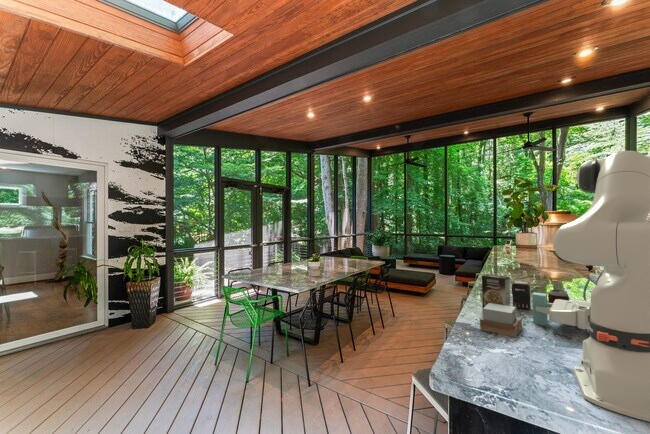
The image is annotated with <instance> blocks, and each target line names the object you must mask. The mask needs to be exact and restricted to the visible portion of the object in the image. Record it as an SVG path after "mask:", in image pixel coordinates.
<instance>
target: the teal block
mask: <svg viewBox="0 0 650 434" xmlns="http://www.w3.org/2000/svg"><path fill="white" fill-rule="evenodd" d="M531 299H532V322H533V324H534V325H541V326H547V325H548V323H549V322H548V321H549V319H548V317H549V315H548V314H545V313H543V312H538V311H536V306H542V307H545V308H547V303H548V294H547V293H542V292H532V293H531Z"/></svg>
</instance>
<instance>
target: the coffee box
mask: <svg viewBox="0 0 650 434" xmlns="http://www.w3.org/2000/svg"><path fill="white" fill-rule="evenodd" d="M481 296H482V297H481V299H482V301H481V302H482V303H481V304H482V309H483V308H484V307H485V306H486V305H487V304H488V303H492V304H499V305H506V306H511V276H506V275H498V274H489V273H486V274H483V275H481Z"/></svg>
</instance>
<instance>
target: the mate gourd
mask: <svg viewBox="0 0 650 434" xmlns="http://www.w3.org/2000/svg"><path fill="white" fill-rule="evenodd" d="M544 275H546V276H547V277H548V279H549V280H550V282H551V285H552V287H553V289H550V291H549V292H548V294H547V300H548V303H554V301H555V299H561V300H567V301H570V297H569V294H568V293H567V291H565V290H562V289H556V286H555V283H554V281H553V279H552V277H551V276H550V275H549V274H547V273H546V272H544Z"/></svg>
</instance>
